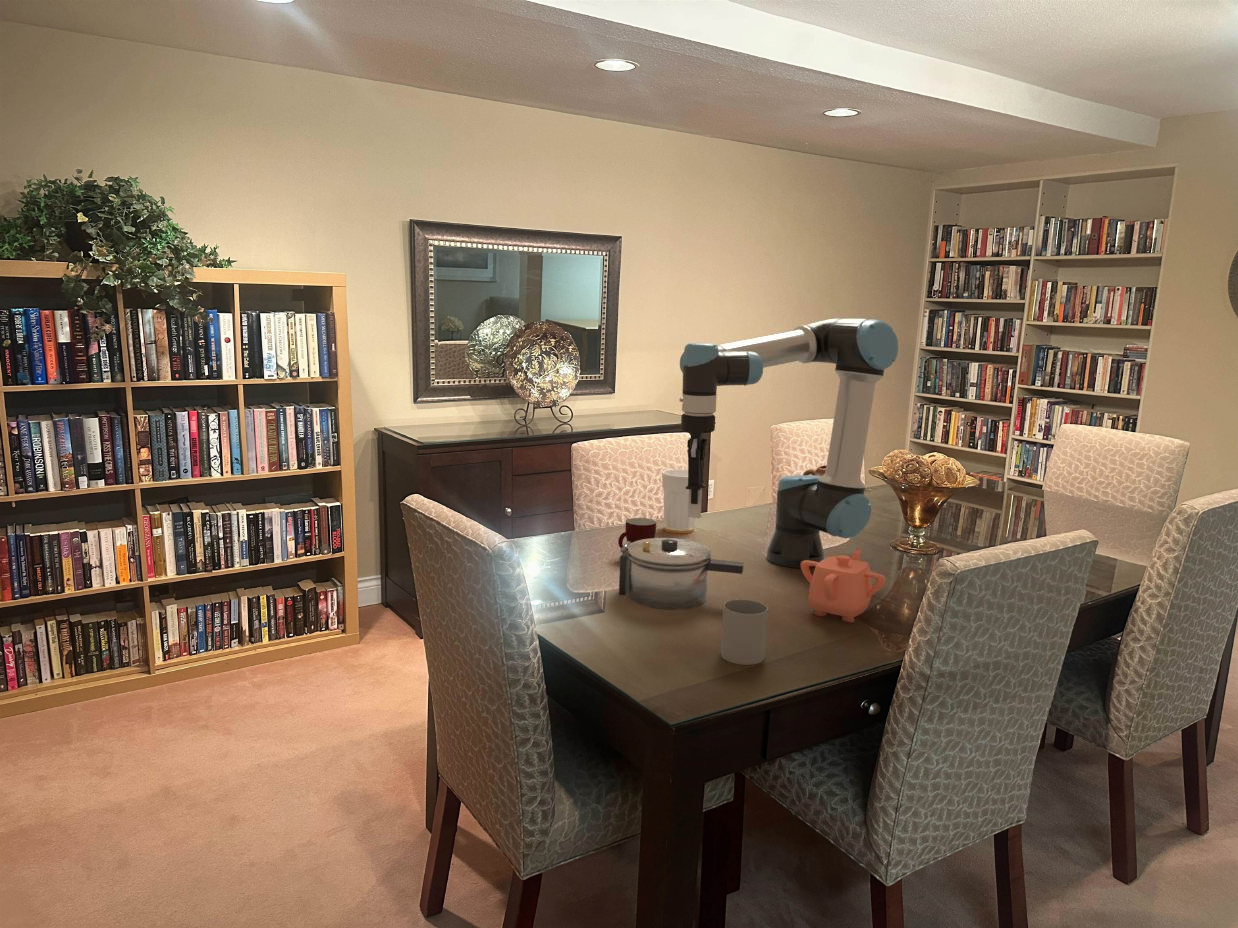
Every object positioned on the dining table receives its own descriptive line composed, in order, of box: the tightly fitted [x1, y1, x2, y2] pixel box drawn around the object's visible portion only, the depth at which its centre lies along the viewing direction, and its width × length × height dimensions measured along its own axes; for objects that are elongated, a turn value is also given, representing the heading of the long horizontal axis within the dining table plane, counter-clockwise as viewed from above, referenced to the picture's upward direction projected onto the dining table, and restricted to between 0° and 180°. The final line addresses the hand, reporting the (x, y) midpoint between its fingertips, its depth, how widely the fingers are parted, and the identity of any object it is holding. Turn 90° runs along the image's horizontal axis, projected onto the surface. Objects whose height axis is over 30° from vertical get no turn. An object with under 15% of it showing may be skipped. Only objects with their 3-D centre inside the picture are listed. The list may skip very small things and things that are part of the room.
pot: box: [618, 551, 745, 611], centre depth 201 cm, size 28×19×10 cm
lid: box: [620, 537, 712, 566], centre depth 201 cm, size 20×19×3 cm
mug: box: [617, 517, 657, 551], centre depth 230 cm, size 10×8×10 cm
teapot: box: [800, 548, 887, 623], centre depth 195 cm, size 17×16×13 cm
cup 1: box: [661, 468, 696, 534], centre depth 261 cm, size 11×11×17 cm
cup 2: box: [720, 598, 769, 666], centre depth 169 cm, size 8×8×10 cm
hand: (694, 516), depth 198 cm, fingers closed
